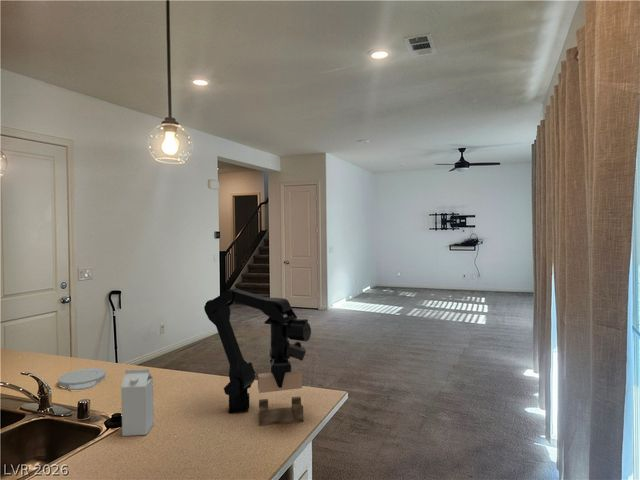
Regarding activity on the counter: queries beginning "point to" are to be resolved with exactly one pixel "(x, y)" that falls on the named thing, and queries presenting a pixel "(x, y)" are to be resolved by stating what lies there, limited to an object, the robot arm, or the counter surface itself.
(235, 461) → the counter surface
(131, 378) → the milk carton
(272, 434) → the counter surface
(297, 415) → the bracket
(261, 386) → the clay bar
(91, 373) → the lid
